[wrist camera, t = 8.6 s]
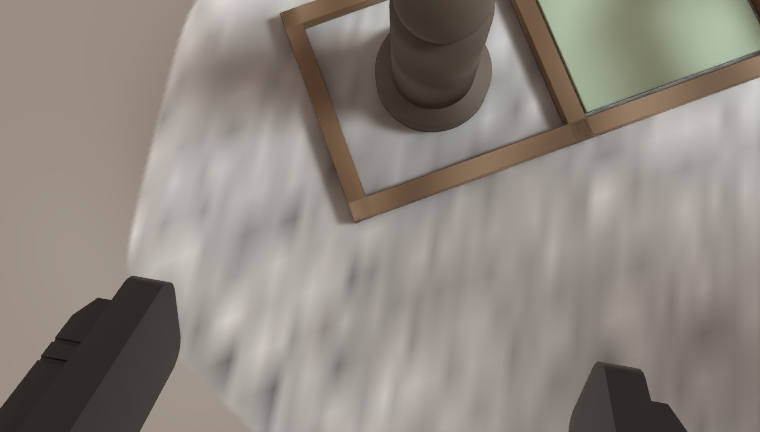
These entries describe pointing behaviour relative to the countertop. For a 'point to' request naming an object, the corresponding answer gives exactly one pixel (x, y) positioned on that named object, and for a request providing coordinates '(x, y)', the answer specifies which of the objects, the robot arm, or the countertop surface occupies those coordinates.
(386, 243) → the countertop surface
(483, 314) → the countertop surface
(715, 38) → the window frame
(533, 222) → the countertop surface
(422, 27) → the pawn
